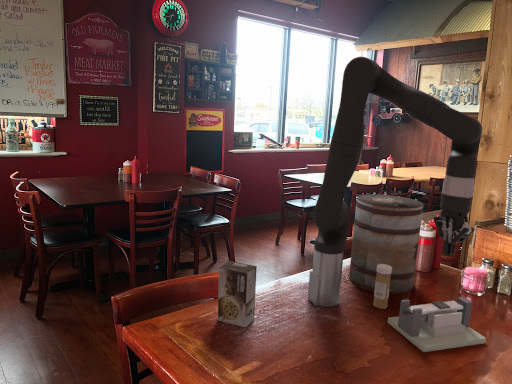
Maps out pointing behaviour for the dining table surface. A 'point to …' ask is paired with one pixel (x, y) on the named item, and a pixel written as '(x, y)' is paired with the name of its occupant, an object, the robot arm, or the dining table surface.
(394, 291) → the barrel
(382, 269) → the sprinkles bottle
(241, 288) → the coffee box
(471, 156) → the robot arm
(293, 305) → the dining table surface
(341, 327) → the dining table surface
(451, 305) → the clamp bar
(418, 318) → the board
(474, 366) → the dining table surface
